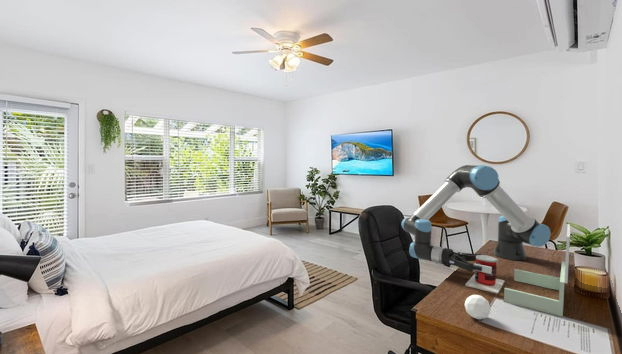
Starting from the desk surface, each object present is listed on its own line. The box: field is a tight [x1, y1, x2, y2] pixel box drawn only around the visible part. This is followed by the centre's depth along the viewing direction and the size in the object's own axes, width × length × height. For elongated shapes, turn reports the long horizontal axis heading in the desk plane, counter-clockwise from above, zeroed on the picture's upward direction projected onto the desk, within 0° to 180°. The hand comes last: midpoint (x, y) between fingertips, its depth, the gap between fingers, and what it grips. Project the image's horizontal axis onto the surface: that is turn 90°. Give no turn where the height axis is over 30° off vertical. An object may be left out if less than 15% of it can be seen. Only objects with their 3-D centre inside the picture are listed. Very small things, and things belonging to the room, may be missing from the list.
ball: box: [464, 294, 492, 320], centre depth 103 cm, size 8×8×8 cm
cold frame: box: [503, 223, 571, 318], centre depth 119 cm, size 28×18×28 cm, turn 139°
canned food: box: [474, 254, 498, 286], centre depth 131 cm, size 8×8×11 cm
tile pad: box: [465, 273, 505, 295], centre depth 131 cm, size 16×12×1 cm
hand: (494, 266), depth 129 cm, fingers open, 13 cm apart
